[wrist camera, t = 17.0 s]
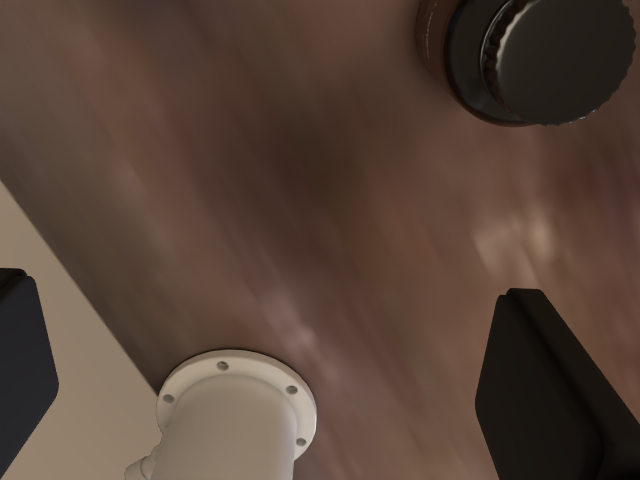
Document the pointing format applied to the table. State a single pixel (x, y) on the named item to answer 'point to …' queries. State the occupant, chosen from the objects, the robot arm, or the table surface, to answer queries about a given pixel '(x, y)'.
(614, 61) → the supplement bottle
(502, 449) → the robot arm
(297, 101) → the table surface
